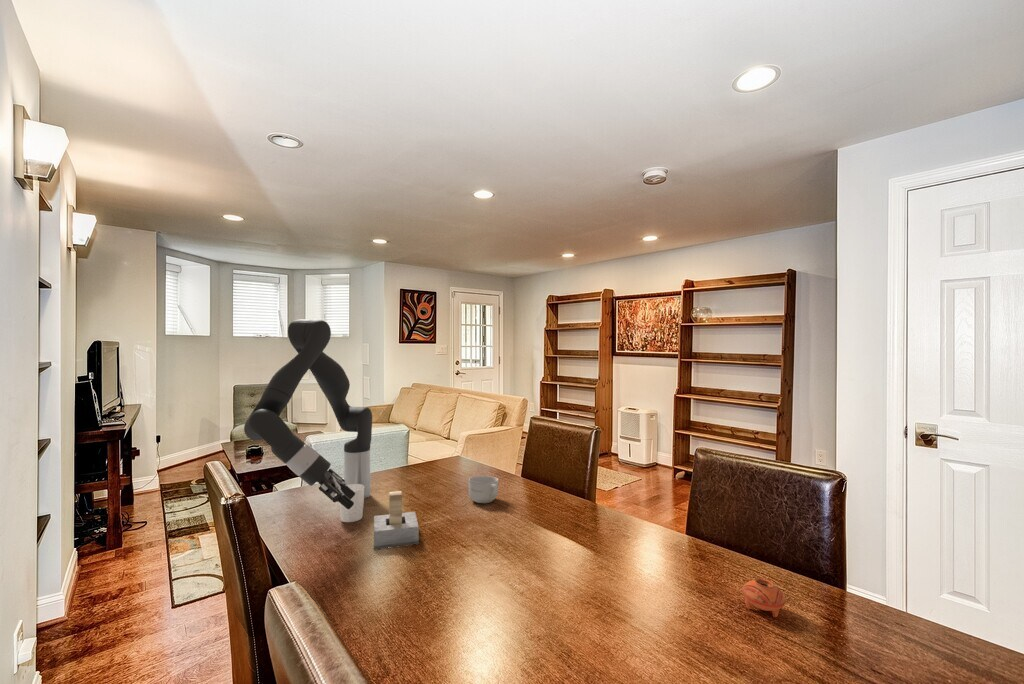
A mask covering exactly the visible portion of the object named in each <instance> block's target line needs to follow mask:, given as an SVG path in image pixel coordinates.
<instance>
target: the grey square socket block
mask: <svg viewBox="0 0 1024 684" xmlns="http://www.w3.org/2000/svg"><path fill="white" fill-rule="evenodd" d="M419 531H420V530H419V523H418V519H417V514H416V511H409V512H407V511H406V512H402V524H396V525H389V514H381V515H374V516H373V534H374V535H373V550H374V549H378V550H382V549H381V548H386V549H389V548H388V547H393V548H398V547H397V546H401V547H407V546H406V545H409V546H414V545H413V544H416V545H419V544H420V542H419V541H420V540H419V538H420V535H419Z"/></svg>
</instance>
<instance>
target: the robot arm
mask: <svg viewBox="0 0 1024 684" xmlns="http://www.w3.org/2000/svg"><path fill="white" fill-rule="evenodd" d="M331 331H332V330H331V327H330V325H329V323H328V322H327V321H325V320H323V319H311V318H310V319H309V318H308V319H301V318H300V319H294V320H292V321H291V322H290V323H289V325H288V327H287V336H288V340H289V342H290V344H291V346H292V347H293V348H294V350H295V352H297V354H296V356H294V357H293V358H291V360H290V361H288V362H287V363H285V364H284V365H283V366H282V367H281V368H279V369H278V370H277V371H276V372H275V373H274V374H273V376H272V377H271V378H270V380H269V382H268V384H267V386H266V387H265V389H264V391H263V393H262V395H261V397H260V400H259V401H258V402H257V404H256V405H255V407H254V409H253V410H252V412H251V413H250V414H249V416H248V418H247V419H246V421H245V423H244V427H243V432H244V435H245V436H246V437H247V438H248V439H249V440H253V441H262V440H263V441H264V442H265V443H267V445H269V446H270V449H271V453H272V454H273V455H274V456H275V457H277V459H278V460H279V461H281V462H283V463H284V464H285V465H286V466H287V467H288V468H289V470H291V471H292V472H293V473H294V474H295V475H296V476H298V477H299V478H300V479H301V480H303V481H304V482H305V483H306V484H308V485H309V486H310V487H311V486H314V485H315V484H316V483H318V484H319V487H318V490H319V491H320V492H321V493H323V494H324V495H325V496H326V497H327V498H328V499H330V500H331V501H332V502H333V503H338V504H339V503H341V504H342V505H343V506H344V507H345V508H347V509H350V508H351V507H352V506H353V505H354V502H353V501H352V500H351V499H352V498H353V496H354V495H355V492H354V491H353V490H352V489H350V488H349V487H348V486H347V485H350V484H361V485H364V500H365V499H367V497H368V498H369V497H371V443H372V432H373V431H372V430H373V429H372V428H373V413H372V410H371V408H369V407H368V406H367V407H366V406H351V405H350V404H348V402H347V396H348V393H349V390H350V385H351V384H350V380H349V378H348V376H347V373H346V371H345V370H344V369H343V367H342V366H341V364H339V363H338V361H336V360H334V359H333V358H332V357H331V356H329V355H327V354H326V353H325V352H324V350H325V349H326V347H327V346H328V344H329V342H330V340H331V335H332V332H331ZM308 370H309V371H310V372H311V375H313V377H314V379H315V380H316V383H317V384H318V386H319V388H320V389H321V391H322V393H323V395H324V396H325V398H326V399H327V401H328V403H329V404H330V407H331V409H332V411H333V413H334V416H335V418H336V420H337V421H336V422H337V423H338V425H339V427H340V428H341V430H342V431H345V432H348V433H351V432H352V433H357V434H356V437H355V439H352V440H349V441H347V442H345V443H344V445H343V460H344V461H343V475H344V476H343V477H342V476H340V475H339V474H338V473H337V472H335V471H334V470H333V469H332V468H330V467H331V463H330V462H329V461H328V460H327V459H326V458H325V457H324V456H322V455H321V454H320V453H318V451H317V450H315V449H314V448H312V447H311V446H310V445H308V444H306V443H305V442H304V441H303V440H302V439H300V437H298V436H297V435H296V434H295V433H293V431H292V430H291V429H290V428H289V426H288V425H287V424H286V422H285V421H284V419H282V418H281V417H280V415H281V413H282V412H283V410H284V409H285V408H286V407H287V406H288V404H289V402H290V401H291V400H292V398H293V395H294V393H295V391H296V390H297V387H298V386H299V384H300V382H301V381H302V379H303V377H304V376H305V375H306V373H308Z"/></svg>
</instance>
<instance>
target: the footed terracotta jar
mask: <svg viewBox="0 0 1024 684" xmlns="http://www.w3.org/2000/svg"><path fill="white" fill-rule="evenodd" d="M741 592H742V594H743V595H744V601H745V602H744V603H745V606H746V608H747V609H748V610H750V609H751V606H754V607H755V608H757V609H759V610H762V611H766V612H767V611H768V612H771V614H772V617H773V618H777V617H779V612H780V609H782V608H783V607H784V606H785V604H786V601H787V600H786V597H785V595H784V593H783V592H782V590H781V589H779V587H778V586H776V585H775V583H773V582H772V581H770V580H769V579H765V578H762V577H755V578H754V579H751V580H749V581H747V582H746V583H744V585H743V586H742V588H741Z"/></svg>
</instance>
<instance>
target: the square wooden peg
mask: <svg viewBox="0 0 1024 684" xmlns="http://www.w3.org/2000/svg"><path fill="white" fill-rule="evenodd" d="M388 509H389V510H388V513H389V525H396V524H402V513H403V493H402V490H399V491H398V490H396V491H390V492H388Z"/></svg>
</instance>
